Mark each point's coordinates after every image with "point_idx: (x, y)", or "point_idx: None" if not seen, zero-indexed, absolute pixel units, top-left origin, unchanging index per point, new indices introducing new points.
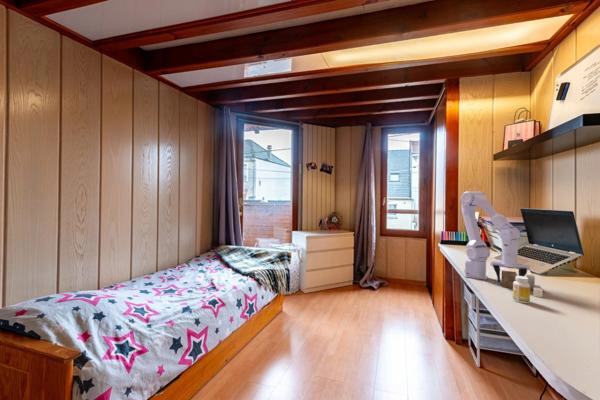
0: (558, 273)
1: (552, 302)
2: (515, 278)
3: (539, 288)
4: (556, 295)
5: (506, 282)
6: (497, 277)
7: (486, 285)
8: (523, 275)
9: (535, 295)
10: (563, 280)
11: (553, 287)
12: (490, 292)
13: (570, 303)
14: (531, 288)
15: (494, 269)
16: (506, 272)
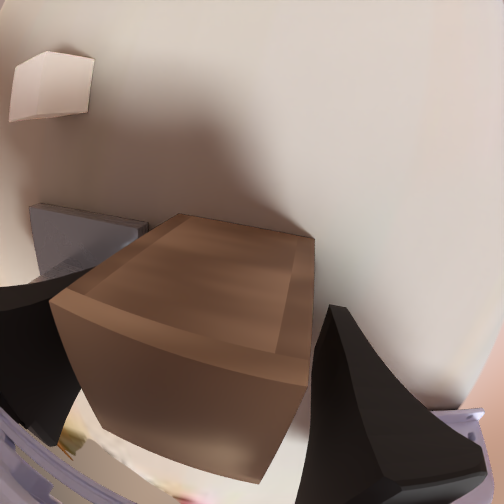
0: (75, 444)
1: (56, 5)
2: (114, 271)
3: (16, 106)
4: (9, 180)
5: (264, 259)
6: (370, 348)
7: (463, 252)
8: (9, 288)
9: (84, 60)
10: None
11: None
12: (471, 12)
13: (4, 64)
14: (73, 240)
15: (477, 446)
16: (209, 422)
